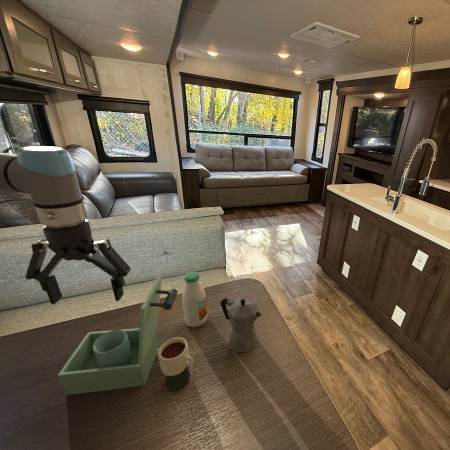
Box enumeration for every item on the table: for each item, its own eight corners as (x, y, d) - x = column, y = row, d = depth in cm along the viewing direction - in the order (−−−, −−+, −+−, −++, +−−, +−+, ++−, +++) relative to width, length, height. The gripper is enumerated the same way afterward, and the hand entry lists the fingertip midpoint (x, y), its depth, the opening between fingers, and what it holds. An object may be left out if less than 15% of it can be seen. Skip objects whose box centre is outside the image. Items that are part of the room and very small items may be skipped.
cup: (126, 349, 77) (119, 325, 73) (138, 363, 73) (132, 339, 69) (96, 367, 71) (87, 342, 67) (108, 383, 67) (99, 358, 63)
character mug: (202, 374, 73) (199, 342, 68) (187, 398, 66) (182, 365, 61) (170, 364, 75) (164, 332, 69) (152, 387, 68) (144, 354, 63)
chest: (66, 395, 64) (57, 375, 61) (94, 350, 76) (88, 332, 73) (144, 385, 68) (140, 366, 65) (160, 344, 80) (156, 326, 77)
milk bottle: (192, 331, 86) (187, 285, 78) (180, 320, 90) (174, 275, 82) (211, 319, 92) (208, 274, 84) (199, 309, 96) (195, 266, 88)
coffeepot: (266, 338, 86) (268, 298, 79) (251, 360, 78) (252, 317, 71) (230, 322, 91) (229, 283, 84) (213, 341, 83) (210, 299, 76)
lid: (140, 308, 58) (168, 310, 60) (158, 274, 70) (181, 276, 72) (138, 365, 65) (163, 365, 67) (155, 325, 77) (175, 326, 79)
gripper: (-24, 228, 47) (15, 313, 56) (122, 229, 53) (138, 306, 61) (9, 213, 54) (40, 291, 62) (136, 216, 60) (149, 287, 68)
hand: (89, 298), depth 62 cm, fingers open, 13 cm apart
